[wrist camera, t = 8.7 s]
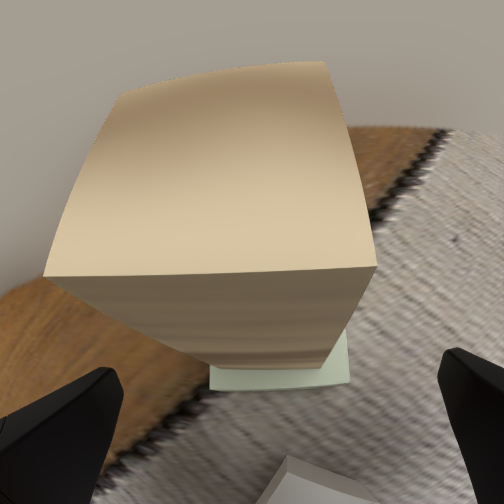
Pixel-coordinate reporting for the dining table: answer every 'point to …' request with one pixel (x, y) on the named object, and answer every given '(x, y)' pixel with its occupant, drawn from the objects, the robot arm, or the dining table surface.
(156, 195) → the maple pillar
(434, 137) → the dining table surface
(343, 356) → the sage base block
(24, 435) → the robot arm
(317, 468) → the grey cube
